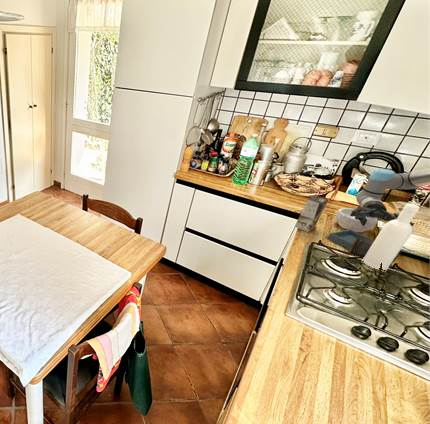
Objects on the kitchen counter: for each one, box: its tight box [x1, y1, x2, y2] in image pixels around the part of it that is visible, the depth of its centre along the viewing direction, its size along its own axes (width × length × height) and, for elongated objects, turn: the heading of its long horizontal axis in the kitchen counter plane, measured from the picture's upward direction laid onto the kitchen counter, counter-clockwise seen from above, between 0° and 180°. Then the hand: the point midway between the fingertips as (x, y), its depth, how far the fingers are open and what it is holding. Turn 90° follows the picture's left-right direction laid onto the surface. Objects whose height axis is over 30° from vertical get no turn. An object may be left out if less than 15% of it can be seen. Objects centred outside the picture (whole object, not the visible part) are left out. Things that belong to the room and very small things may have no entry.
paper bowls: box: [334, 207, 379, 233], centre depth 156 cm, size 15×15×8 cm
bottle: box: [363, 203, 420, 271], centre depth 122 cm, size 8×8×30 cm
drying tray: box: [327, 229, 375, 251], centre depth 144 cm, size 14×14×3 cm
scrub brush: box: [347, 237, 403, 268], centre depth 132 cm, size 14×3×9 cm, turn 58°
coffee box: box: [294, 195, 329, 233], centre depth 154 cm, size 9×6×16 cm
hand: (385, 227), depth 128 cm, fingers open, 13 cm apart
